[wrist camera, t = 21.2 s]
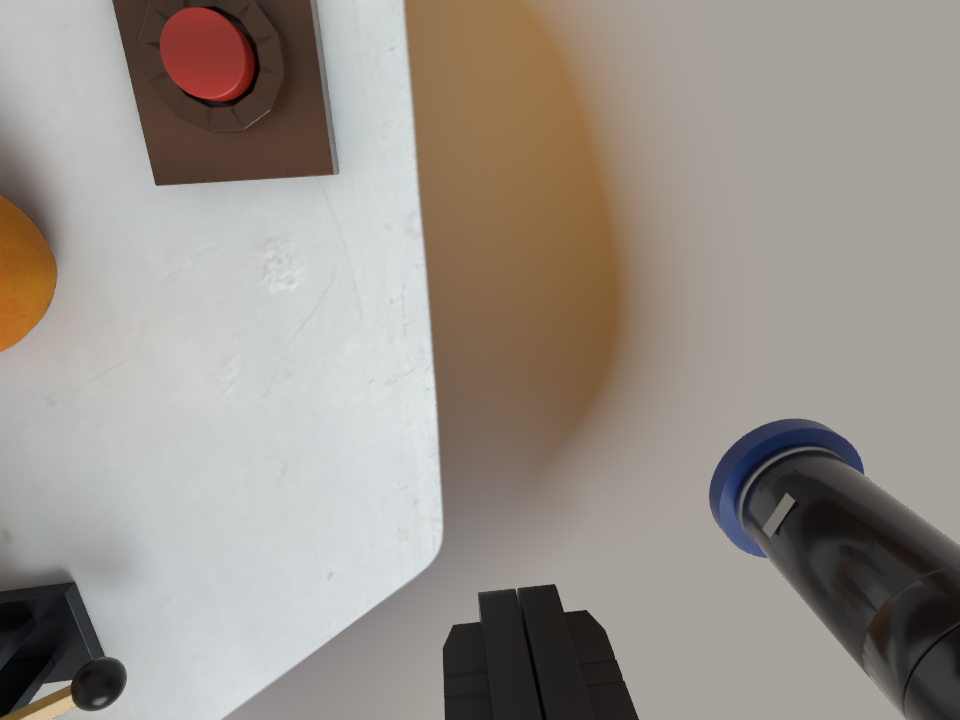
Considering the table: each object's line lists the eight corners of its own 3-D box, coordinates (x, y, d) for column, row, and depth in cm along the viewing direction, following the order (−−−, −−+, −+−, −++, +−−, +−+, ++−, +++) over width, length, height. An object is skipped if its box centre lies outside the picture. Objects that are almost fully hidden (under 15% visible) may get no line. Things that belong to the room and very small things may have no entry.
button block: (339, 173, 35) (328, 175, 32) (171, 184, 35) (140, 187, 31) (308, -58, 31) (292, -88, 28) (118, -51, 31) (75, -80, 27)
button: (261, 99, 31) (252, 96, 29) (183, 103, 30) (169, 100, 29) (247, 13, 29) (236, 4, 28) (165, 16, 29) (149, 8, 27)
